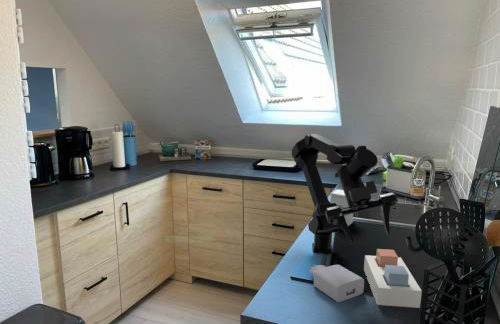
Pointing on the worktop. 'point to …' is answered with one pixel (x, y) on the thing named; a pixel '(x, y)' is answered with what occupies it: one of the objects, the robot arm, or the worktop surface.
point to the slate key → (396, 276)
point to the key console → (391, 293)
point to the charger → (337, 282)
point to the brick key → (386, 257)
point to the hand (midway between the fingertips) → (370, 238)
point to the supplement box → (341, 203)
